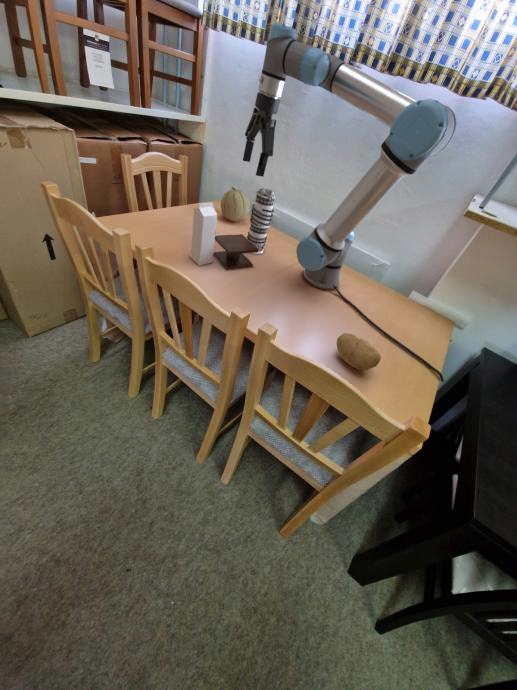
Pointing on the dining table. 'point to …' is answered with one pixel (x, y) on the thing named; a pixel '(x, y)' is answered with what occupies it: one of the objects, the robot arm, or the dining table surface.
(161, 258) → the dining table surface
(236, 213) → the cantaloupe
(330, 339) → the dining table surface
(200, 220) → the milk
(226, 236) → the stand
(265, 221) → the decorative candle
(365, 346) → the potato
